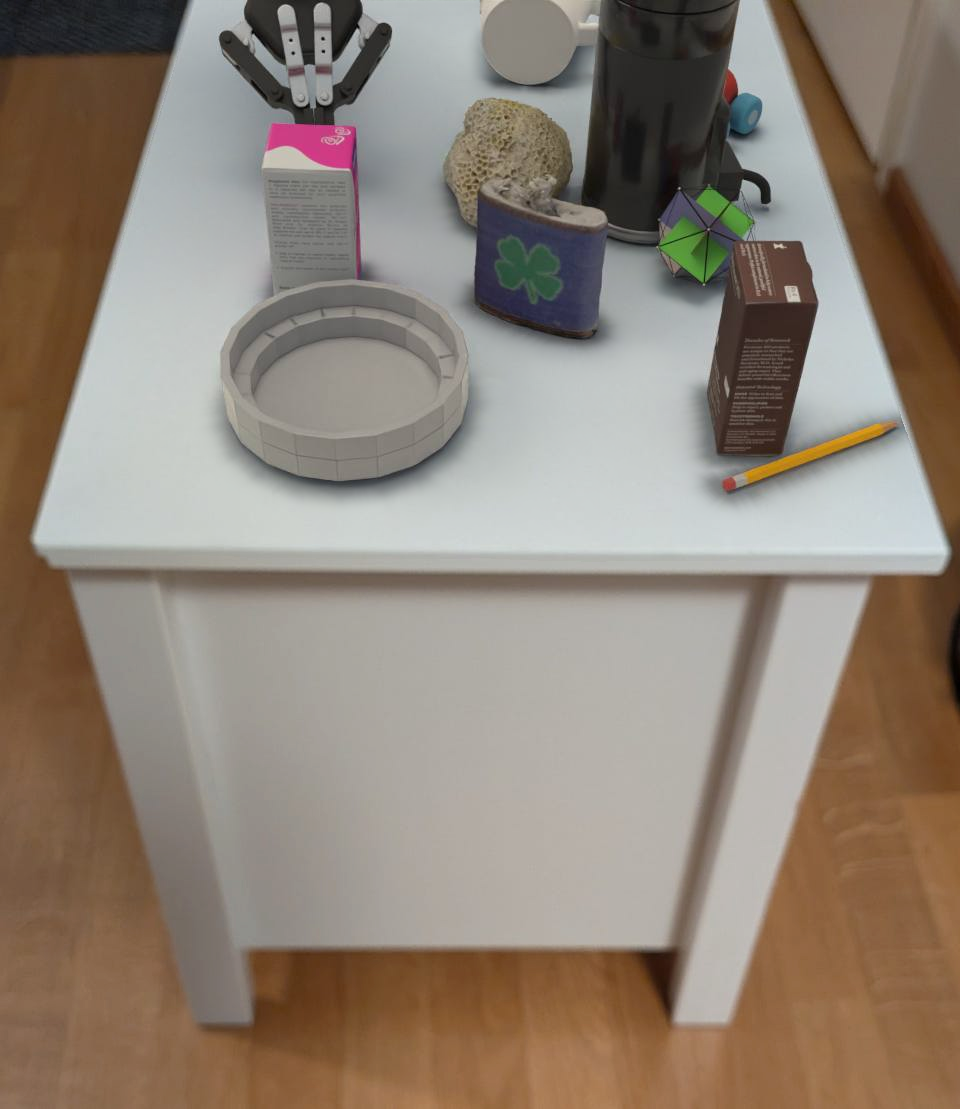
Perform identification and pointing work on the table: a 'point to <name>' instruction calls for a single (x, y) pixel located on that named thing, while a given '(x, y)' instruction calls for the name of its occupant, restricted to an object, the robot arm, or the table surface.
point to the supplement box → (311, 204)
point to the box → (761, 346)
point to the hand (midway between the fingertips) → (319, 163)
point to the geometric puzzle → (701, 233)
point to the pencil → (806, 455)
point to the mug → (535, 36)
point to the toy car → (741, 107)
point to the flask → (539, 257)
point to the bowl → (345, 379)
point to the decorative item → (505, 151)
